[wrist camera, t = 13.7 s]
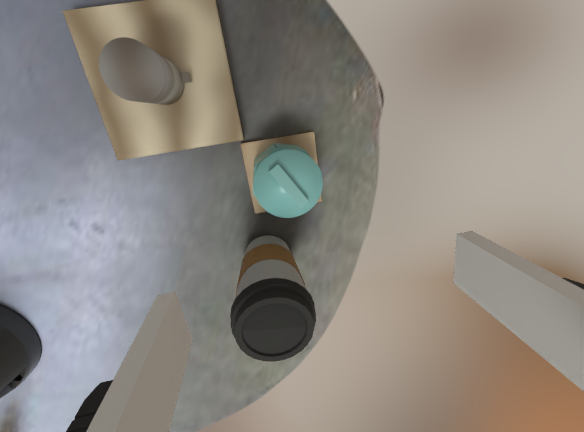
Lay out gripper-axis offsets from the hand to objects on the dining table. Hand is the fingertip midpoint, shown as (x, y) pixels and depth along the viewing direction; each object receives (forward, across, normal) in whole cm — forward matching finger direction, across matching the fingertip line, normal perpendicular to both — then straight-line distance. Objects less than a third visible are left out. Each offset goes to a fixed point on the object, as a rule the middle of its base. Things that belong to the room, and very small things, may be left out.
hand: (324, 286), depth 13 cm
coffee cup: (+25, -3, -11) cm, 27 cm away
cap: (+24, +1, 0) cm, 24 cm away
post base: (+25, -10, +12) cm, 29 cm away
